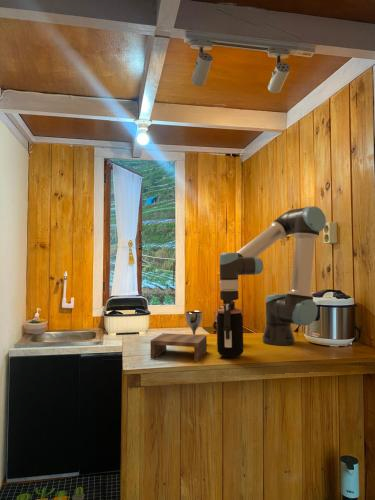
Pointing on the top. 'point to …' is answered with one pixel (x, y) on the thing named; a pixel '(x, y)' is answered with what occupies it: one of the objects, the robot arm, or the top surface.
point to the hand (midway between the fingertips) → (230, 344)
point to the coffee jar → (236, 333)
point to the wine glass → (193, 319)
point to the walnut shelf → (179, 343)
